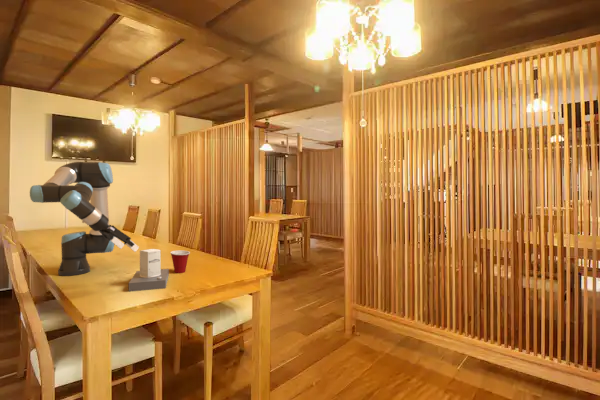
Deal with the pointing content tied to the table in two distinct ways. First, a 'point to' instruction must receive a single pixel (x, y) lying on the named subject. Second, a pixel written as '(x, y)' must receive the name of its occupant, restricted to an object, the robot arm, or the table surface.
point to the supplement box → (150, 262)
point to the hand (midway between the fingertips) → (129, 248)
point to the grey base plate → (149, 281)
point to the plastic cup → (180, 260)
